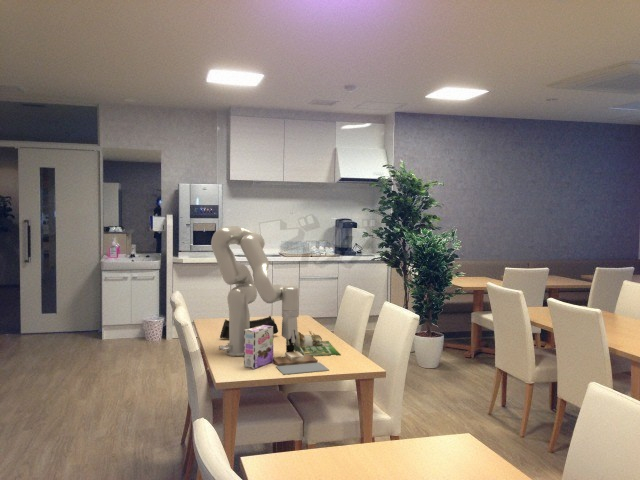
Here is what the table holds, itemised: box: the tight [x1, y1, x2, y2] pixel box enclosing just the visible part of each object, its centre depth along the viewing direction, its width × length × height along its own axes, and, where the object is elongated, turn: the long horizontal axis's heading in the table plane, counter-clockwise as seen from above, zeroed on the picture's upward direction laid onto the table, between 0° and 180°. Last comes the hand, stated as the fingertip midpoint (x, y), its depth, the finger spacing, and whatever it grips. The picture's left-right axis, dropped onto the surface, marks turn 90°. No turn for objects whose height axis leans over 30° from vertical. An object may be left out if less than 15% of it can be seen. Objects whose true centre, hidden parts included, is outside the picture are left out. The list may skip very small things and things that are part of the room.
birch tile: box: [284, 351, 304, 362], centre depth 251 cm, size 6×9×2 cm, turn 20°
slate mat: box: [275, 361, 330, 376], centre depth 240 cm, size 20×12×1 cm, turn 110°
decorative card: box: [294, 330, 341, 357], centre depth 277 cm, size 33×8×20 cm
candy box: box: [243, 325, 274, 370], centre depth 246 cm, size 14×6×16 cm, turn 148°
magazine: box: [219, 315, 279, 339], centre depth 297 cm, size 17×3×30 cm
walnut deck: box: [272, 355, 319, 366], centre depth 250 cm, size 18×10×2 cm, turn 110°
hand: (290, 353), depth 257 cm, fingers closed
